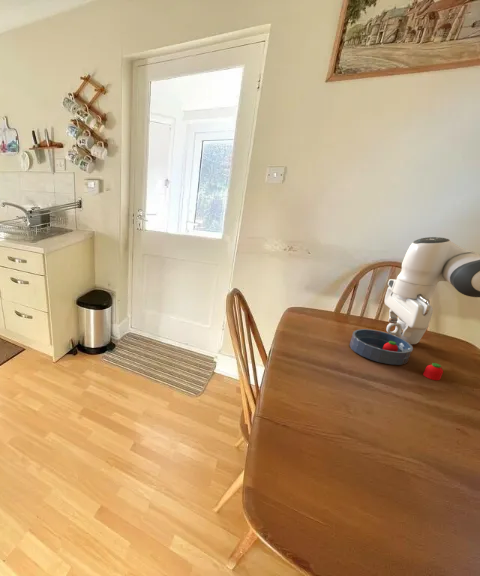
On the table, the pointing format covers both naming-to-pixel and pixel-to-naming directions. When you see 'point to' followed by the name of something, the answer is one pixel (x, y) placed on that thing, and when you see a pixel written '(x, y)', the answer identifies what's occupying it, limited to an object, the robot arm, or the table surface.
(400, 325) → the cup
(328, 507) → the table surface
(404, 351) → the bowl
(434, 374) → the strawberry
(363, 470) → the table surface
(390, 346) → the strawberry
